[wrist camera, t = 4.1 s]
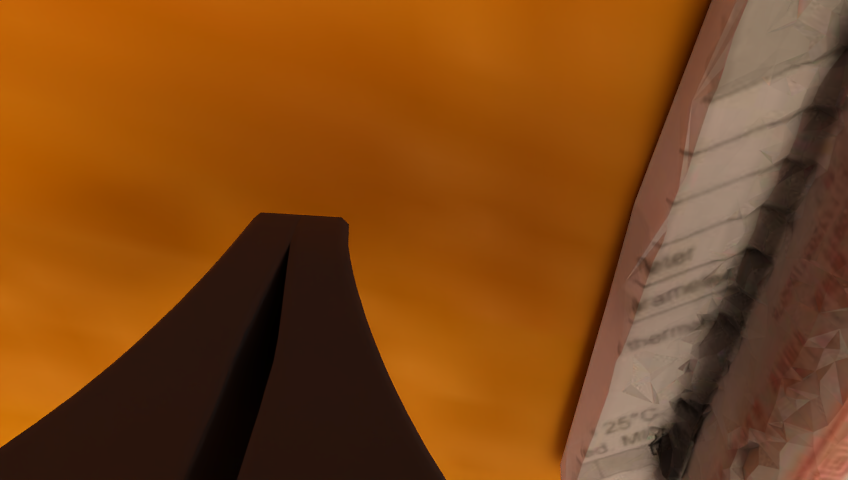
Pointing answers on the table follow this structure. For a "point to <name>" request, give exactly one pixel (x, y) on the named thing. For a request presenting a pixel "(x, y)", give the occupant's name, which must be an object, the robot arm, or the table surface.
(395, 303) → the table surface
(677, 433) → the packaged product
